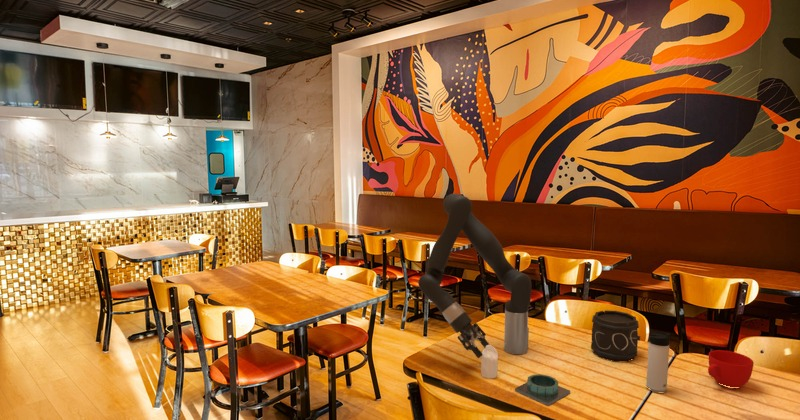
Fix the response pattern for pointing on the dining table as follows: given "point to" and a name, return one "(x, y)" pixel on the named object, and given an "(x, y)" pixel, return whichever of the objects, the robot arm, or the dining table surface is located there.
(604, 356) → the black coffee canister
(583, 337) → the dining table surface
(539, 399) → the socket plate
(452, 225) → the robot arm
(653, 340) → the travel mug
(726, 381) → the ceramic cup
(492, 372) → the white crystal
